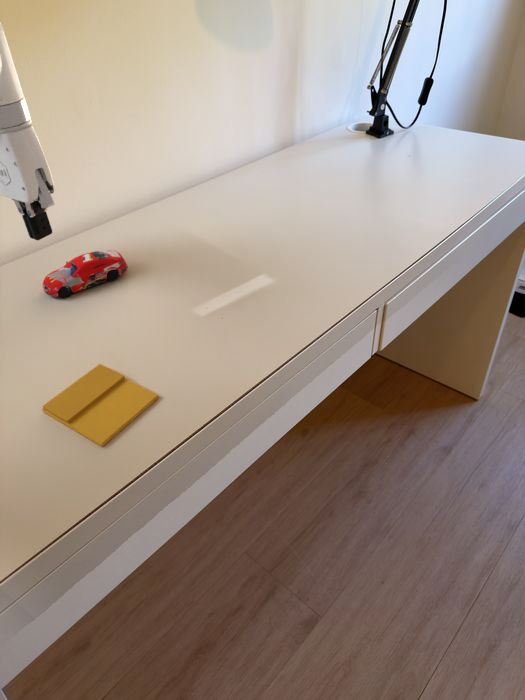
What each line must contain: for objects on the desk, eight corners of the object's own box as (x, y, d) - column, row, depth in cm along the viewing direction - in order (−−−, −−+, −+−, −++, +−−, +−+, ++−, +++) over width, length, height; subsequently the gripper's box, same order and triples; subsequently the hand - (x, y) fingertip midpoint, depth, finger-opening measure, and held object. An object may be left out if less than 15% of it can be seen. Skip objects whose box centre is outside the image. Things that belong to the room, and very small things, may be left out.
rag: (101, 447, 57) (99, 441, 56) (42, 412, 61) (40, 405, 61) (159, 397, 62) (157, 391, 62) (101, 368, 67) (99, 362, 66)
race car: (51, 304, 79) (42, 281, 77) (41, 288, 83) (32, 266, 80) (132, 275, 84) (127, 253, 82) (120, 262, 88) (114, 240, 85)
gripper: (-56, 115, 74) (-7, 235, 85) (9, 130, 67) (52, 257, 78) (-8, 102, 78) (32, 217, 90) (57, 114, 71) (91, 237, 83)
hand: (41, 235), depth 84 cm, fingers closed
